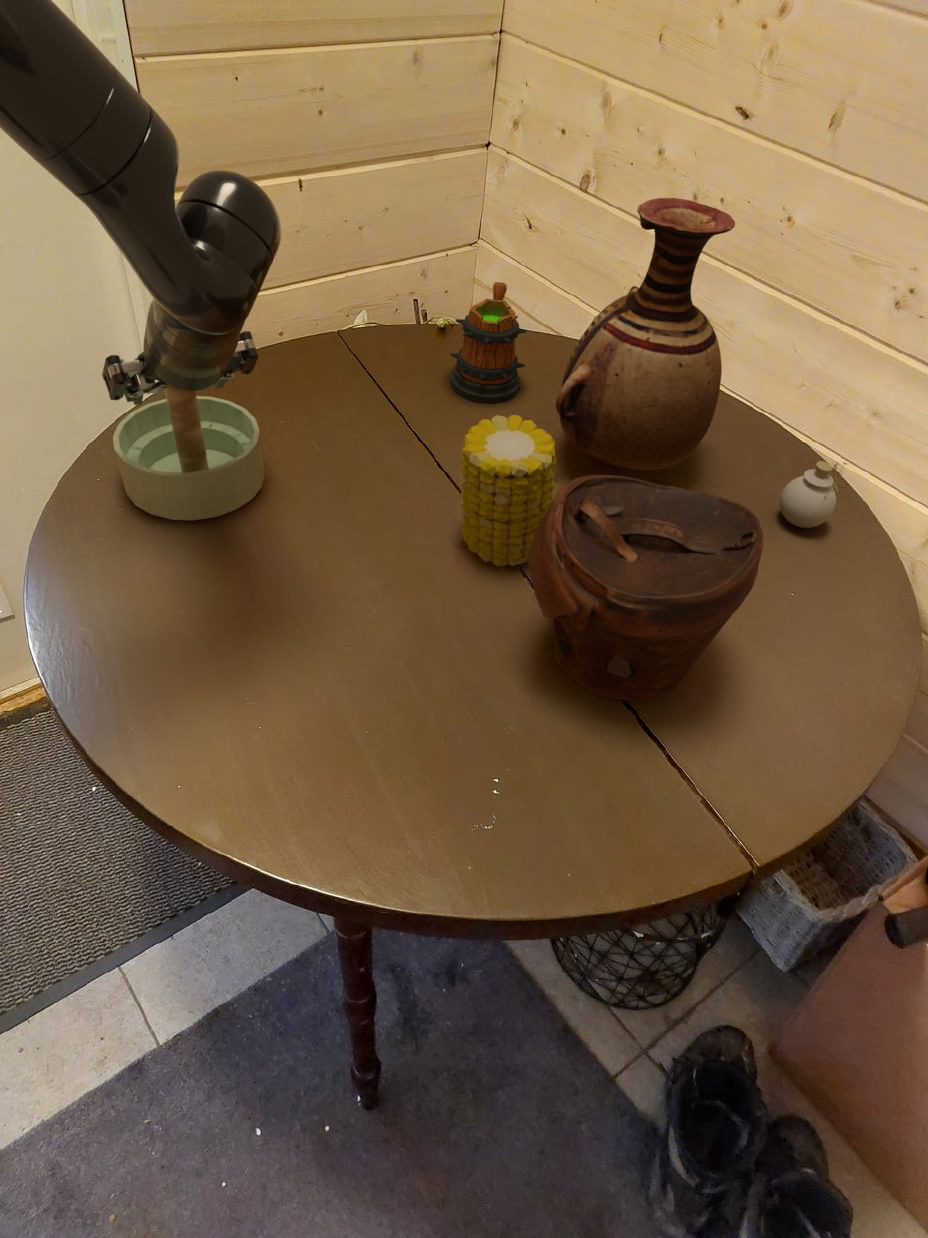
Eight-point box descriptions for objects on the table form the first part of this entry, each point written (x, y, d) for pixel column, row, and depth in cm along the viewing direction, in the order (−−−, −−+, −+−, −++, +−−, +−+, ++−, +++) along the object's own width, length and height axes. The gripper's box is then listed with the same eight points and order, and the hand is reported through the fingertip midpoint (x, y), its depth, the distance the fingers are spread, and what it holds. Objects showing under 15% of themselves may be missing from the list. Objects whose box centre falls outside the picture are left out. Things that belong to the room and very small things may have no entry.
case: (488, 606, 84) (508, 460, 71) (662, 575, 90) (710, 435, 77) (553, 746, 73) (592, 603, 60) (748, 702, 78) (822, 562, 65)
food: (557, 558, 93) (485, 593, 88) (498, 484, 97) (426, 515, 93) (599, 467, 80) (517, 504, 76) (528, 387, 84) (447, 418, 80)
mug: (517, 409, 110) (528, 327, 102) (442, 397, 111) (447, 315, 103) (527, 362, 119) (539, 283, 111) (458, 351, 120) (464, 272, 112)
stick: (184, 487, 93) (161, 374, 83) (181, 471, 95) (158, 359, 85) (212, 483, 94) (192, 371, 84) (208, 467, 96) (188, 356, 85)
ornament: (814, 506, 100) (848, 437, 93) (834, 547, 95) (872, 477, 88) (766, 504, 100) (796, 434, 93) (784, 545, 95) (817, 474, 88)
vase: (550, 505, 97) (601, 244, 75) (528, 418, 109) (566, 173, 87) (725, 505, 99) (822, 254, 78) (683, 421, 112) (757, 183, 90)
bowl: (132, 534, 88) (118, 485, 83) (121, 452, 97) (108, 404, 93) (276, 512, 92) (270, 463, 87) (252, 436, 102) (246, 388, 97)
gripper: (256, 279, 75) (230, 339, 89) (92, 305, 69) (93, 364, 84) (283, 361, 75) (252, 407, 90) (122, 393, 70) (118, 436, 85)
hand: (175, 387), depth 87 cm, fingers open, 8 cm apart
